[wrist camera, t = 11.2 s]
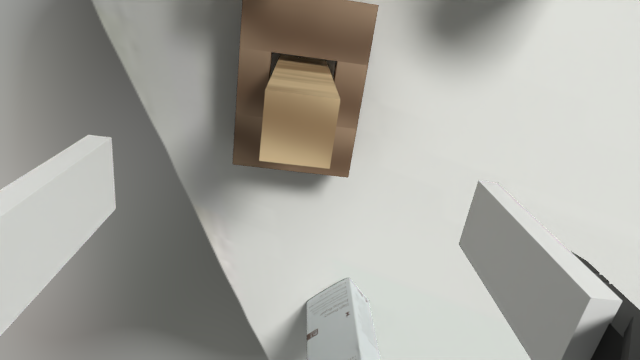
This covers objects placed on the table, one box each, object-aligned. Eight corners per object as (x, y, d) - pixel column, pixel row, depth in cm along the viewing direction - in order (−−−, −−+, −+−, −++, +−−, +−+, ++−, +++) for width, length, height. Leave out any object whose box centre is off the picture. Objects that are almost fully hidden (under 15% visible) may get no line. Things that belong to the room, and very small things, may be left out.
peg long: (280, 54, 37) (265, 89, 22) (326, 60, 37) (340, 99, 22) (276, 99, 38) (259, 160, 24) (319, 104, 39) (329, 168, 24)
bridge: (250, -14, 35) (243, -16, 30) (369, 4, 35) (378, 5, 31) (240, 147, 40) (232, 164, 36) (343, 159, 41) (348, 177, 37)
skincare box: (348, 274, 46) (362, 361, 35) (370, 300, 48) (391, 392, 36) (303, 302, 47) (303, 394, 36) (326, 326, 49) (333, 423, 38)
